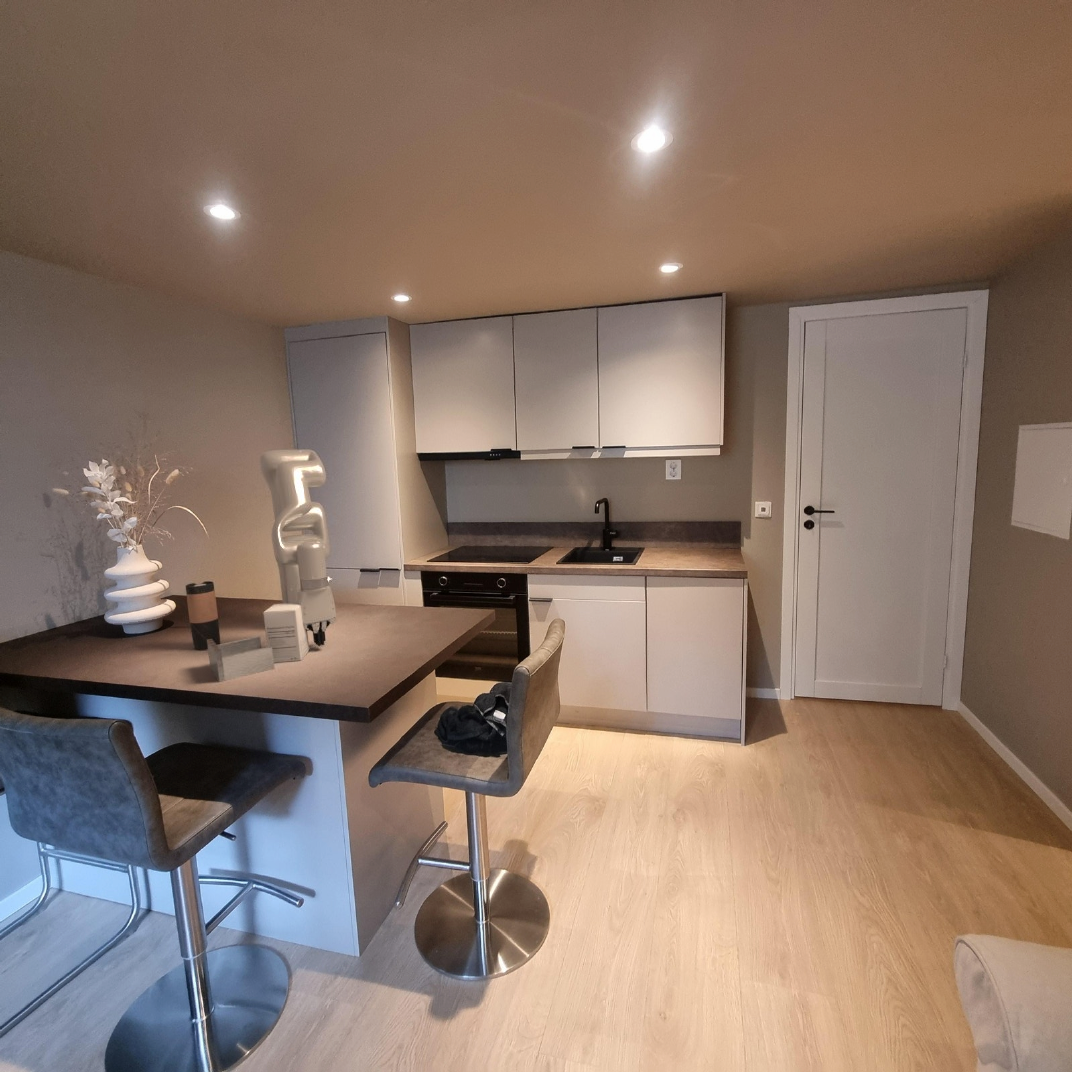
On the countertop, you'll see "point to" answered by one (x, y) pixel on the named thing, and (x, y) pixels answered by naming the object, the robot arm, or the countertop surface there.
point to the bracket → (239, 658)
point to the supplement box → (286, 632)
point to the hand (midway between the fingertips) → (320, 644)
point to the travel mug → (203, 614)
